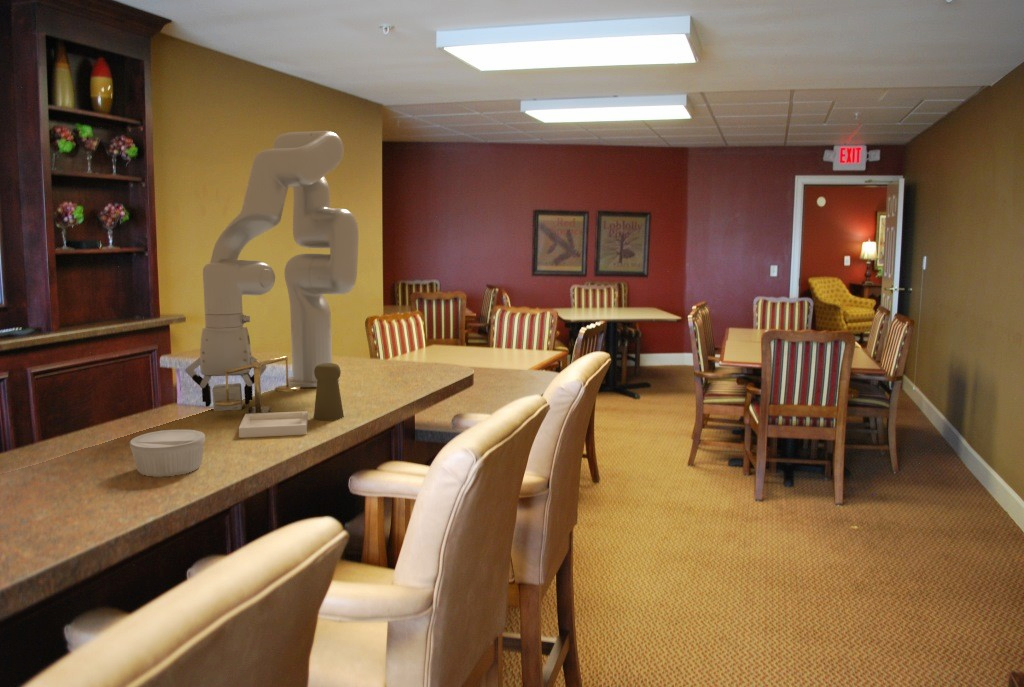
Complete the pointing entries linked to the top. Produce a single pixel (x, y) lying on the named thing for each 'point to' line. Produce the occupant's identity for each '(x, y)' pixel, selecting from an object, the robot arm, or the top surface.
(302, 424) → the dish
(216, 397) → the small box
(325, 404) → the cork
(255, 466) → the top surface
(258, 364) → the balance
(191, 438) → the ramekin
